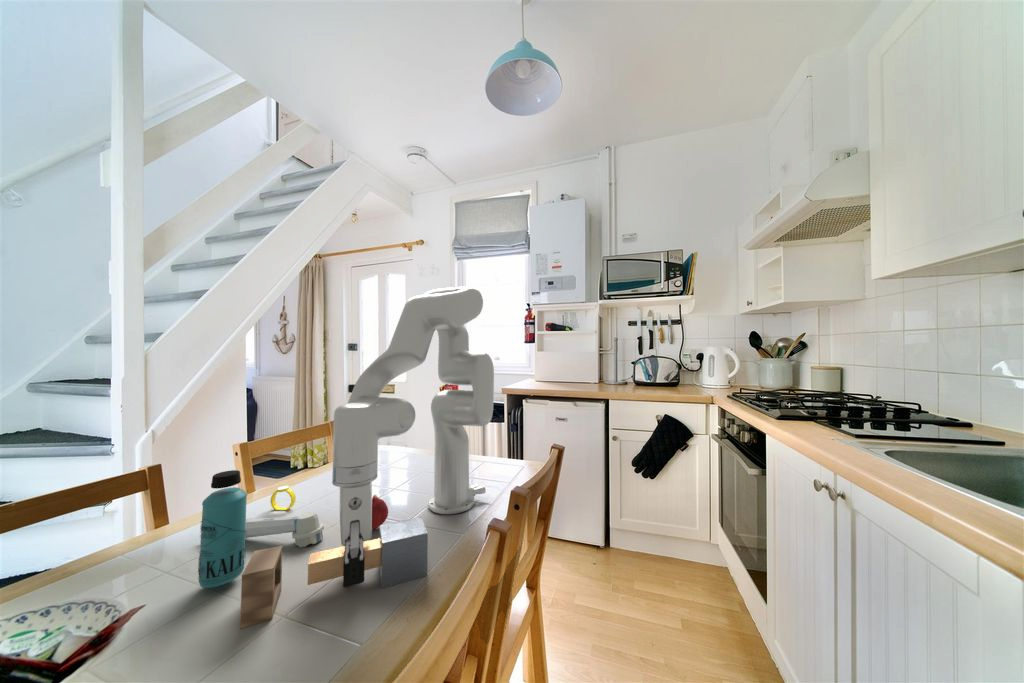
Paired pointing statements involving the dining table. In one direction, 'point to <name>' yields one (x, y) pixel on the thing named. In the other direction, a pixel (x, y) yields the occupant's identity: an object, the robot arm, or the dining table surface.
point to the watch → (282, 489)
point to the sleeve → (403, 551)
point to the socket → (261, 586)
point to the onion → (378, 512)
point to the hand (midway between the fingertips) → (353, 568)
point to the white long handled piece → (288, 528)
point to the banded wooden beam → (341, 561)
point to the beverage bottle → (223, 531)
